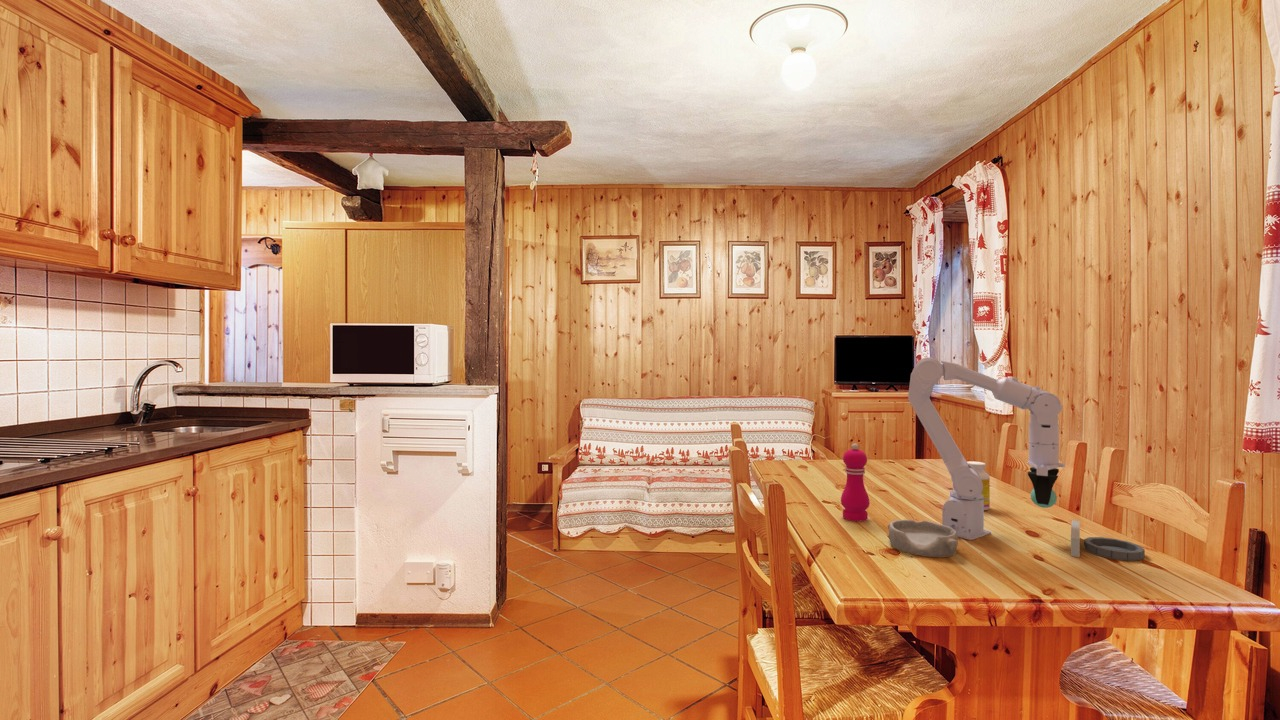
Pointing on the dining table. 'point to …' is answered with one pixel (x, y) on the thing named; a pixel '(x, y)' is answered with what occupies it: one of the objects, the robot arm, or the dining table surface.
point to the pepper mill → (855, 486)
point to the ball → (1051, 503)
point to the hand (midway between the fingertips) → (1043, 501)
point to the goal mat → (1114, 548)
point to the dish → (923, 538)
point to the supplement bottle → (983, 481)
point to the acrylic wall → (1075, 538)
